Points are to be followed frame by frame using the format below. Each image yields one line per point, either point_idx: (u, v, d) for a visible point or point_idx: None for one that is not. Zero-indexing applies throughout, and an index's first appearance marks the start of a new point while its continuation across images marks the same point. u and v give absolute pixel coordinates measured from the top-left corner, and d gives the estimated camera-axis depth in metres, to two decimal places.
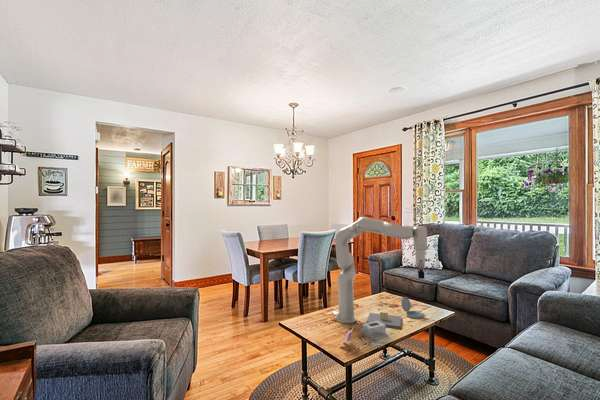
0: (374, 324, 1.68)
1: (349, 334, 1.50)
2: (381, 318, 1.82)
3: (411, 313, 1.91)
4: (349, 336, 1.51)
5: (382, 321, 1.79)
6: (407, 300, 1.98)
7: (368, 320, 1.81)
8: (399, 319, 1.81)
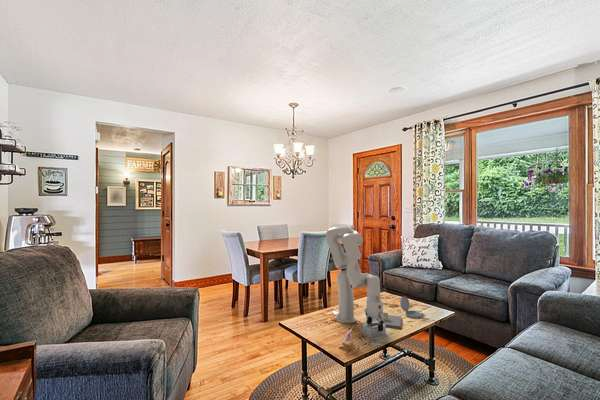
0: (374, 324, 1.68)
1: (348, 334, 1.50)
2: None
3: (410, 313, 1.92)
4: (348, 336, 1.51)
5: None
6: (406, 300, 1.99)
7: None
8: (399, 319, 1.81)
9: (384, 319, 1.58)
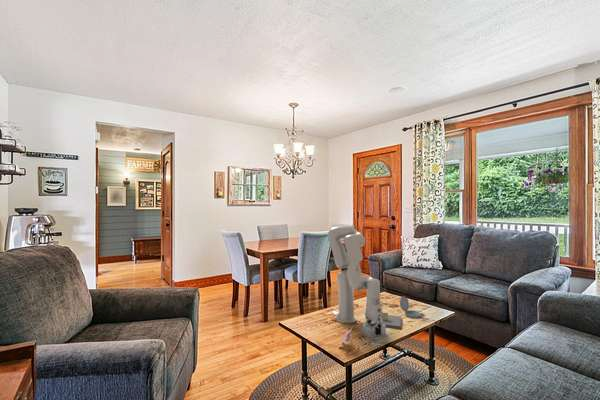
0: (374, 324, 1.68)
1: (348, 334, 1.50)
2: None
3: (409, 312, 1.92)
4: (348, 336, 1.50)
5: None
6: (405, 300, 1.99)
7: None
8: (399, 319, 1.81)
9: (382, 324, 1.59)
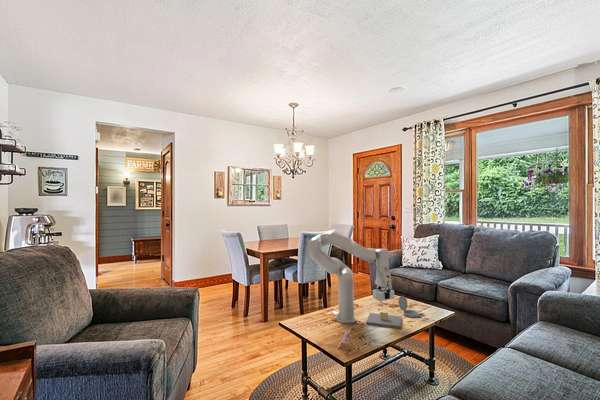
0: (383, 290, 1.84)
1: (347, 334, 1.50)
2: (381, 318, 1.82)
3: (408, 312, 1.93)
4: (347, 336, 1.50)
5: (382, 321, 1.79)
6: (404, 299, 2.00)
7: (368, 320, 1.81)
8: (399, 319, 1.81)
9: (391, 288, 1.75)
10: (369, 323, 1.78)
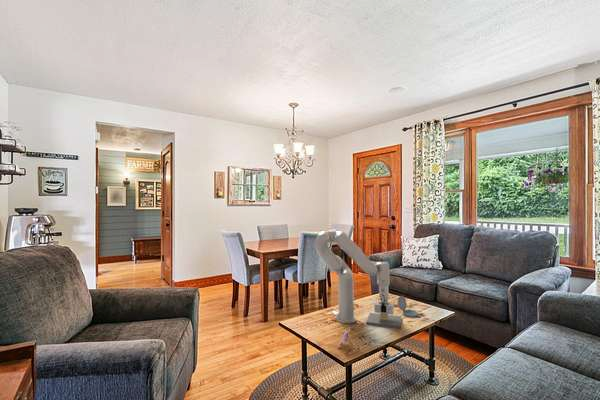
0: (386, 304, 1.83)
1: (346, 334, 1.50)
2: (381, 318, 1.82)
3: (407, 312, 1.94)
4: (346, 336, 1.50)
5: (382, 321, 1.79)
6: (403, 299, 2.01)
7: (368, 320, 1.81)
8: (399, 319, 1.81)
9: (382, 302, 1.75)
10: (369, 323, 1.78)
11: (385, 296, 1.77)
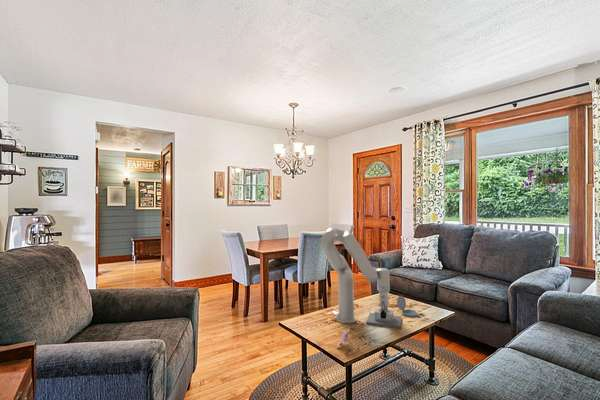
0: (386, 311, 1.83)
1: (346, 335, 1.50)
2: None
3: (406, 312, 1.94)
4: (346, 337, 1.50)
5: (382, 321, 1.79)
6: (402, 299, 2.01)
7: (368, 320, 1.81)
8: (399, 319, 1.81)
9: (382, 308, 1.75)
10: (369, 323, 1.78)
11: (385, 303, 1.77)
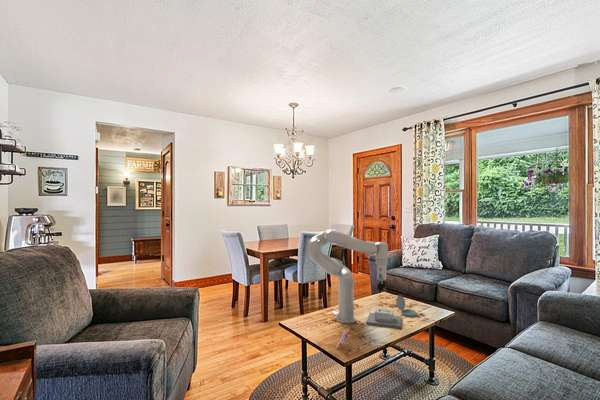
0: (386, 311, 1.83)
1: (345, 335, 1.50)
2: None
3: (406, 311, 1.94)
4: (345, 337, 1.50)
5: (382, 321, 1.79)
6: (402, 299, 2.01)
7: (368, 320, 1.81)
8: (399, 319, 1.81)
9: (379, 279, 1.78)
10: (369, 323, 1.78)
11: (382, 275, 1.80)
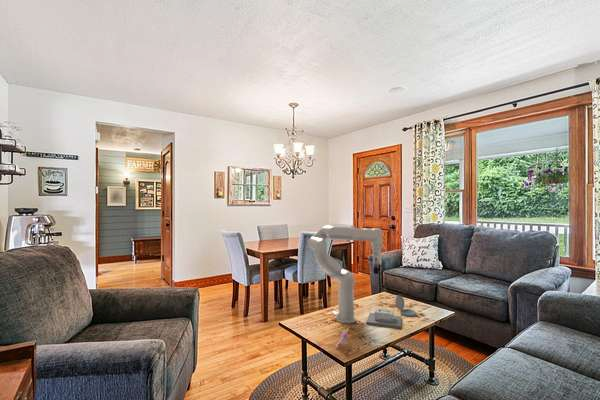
0: (386, 311, 1.83)
1: (344, 335, 1.50)
2: None
3: (405, 311, 1.95)
4: (344, 337, 1.50)
5: (382, 321, 1.79)
6: (401, 298, 2.02)
7: (368, 320, 1.81)
8: (399, 319, 1.81)
9: (375, 263, 1.87)
10: (369, 323, 1.78)
11: (378, 259, 1.90)
